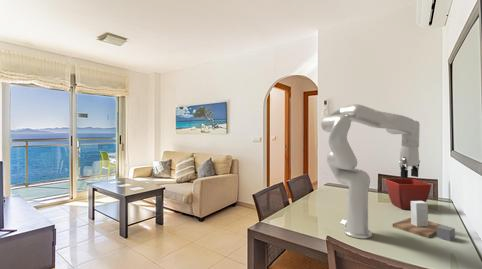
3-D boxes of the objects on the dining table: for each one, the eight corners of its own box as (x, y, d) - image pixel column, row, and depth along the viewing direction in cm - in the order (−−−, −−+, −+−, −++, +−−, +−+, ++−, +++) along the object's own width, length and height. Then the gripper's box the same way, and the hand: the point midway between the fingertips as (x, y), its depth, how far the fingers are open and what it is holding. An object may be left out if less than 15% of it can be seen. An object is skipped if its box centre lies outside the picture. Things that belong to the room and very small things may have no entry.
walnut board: (392, 226, 125) (392, 223, 125) (412, 219, 135) (412, 216, 135) (428, 238, 111) (428, 234, 111) (447, 229, 121) (447, 226, 121)
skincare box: (421, 223, 125) (421, 200, 125) (428, 226, 121) (428, 202, 121) (410, 223, 125) (410, 200, 125) (416, 226, 121) (416, 203, 121)
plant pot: (413, 202, 166) (413, 178, 166) (432, 211, 147) (432, 184, 147) (384, 202, 168) (384, 178, 168) (399, 211, 149) (399, 184, 149)
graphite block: (436, 237, 112) (436, 226, 112) (441, 235, 115) (441, 224, 115) (449, 241, 108) (449, 230, 108) (455, 239, 110) (454, 228, 110)
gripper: (411, 144, 132) (410, 175, 132) (393, 143, 124) (392, 176, 124) (427, 144, 126) (426, 177, 126) (408, 144, 118) (407, 179, 118)
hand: (409, 177), depth 125 cm, fingers open, 9 cm apart
